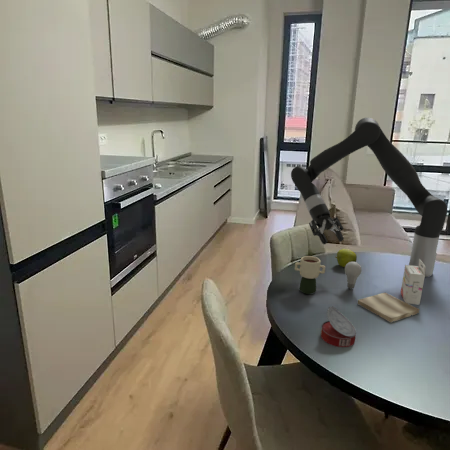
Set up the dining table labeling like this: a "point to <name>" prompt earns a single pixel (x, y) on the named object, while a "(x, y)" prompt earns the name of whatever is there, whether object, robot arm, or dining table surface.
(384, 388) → the dining table surface
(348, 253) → the apple
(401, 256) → the dining table surface
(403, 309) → the birch board
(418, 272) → the ink cartridge box
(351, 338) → the canned food
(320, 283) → the dining table surface
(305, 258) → the character mug
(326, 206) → the robot arm
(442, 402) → the dining table surface
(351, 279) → the lightbulb
